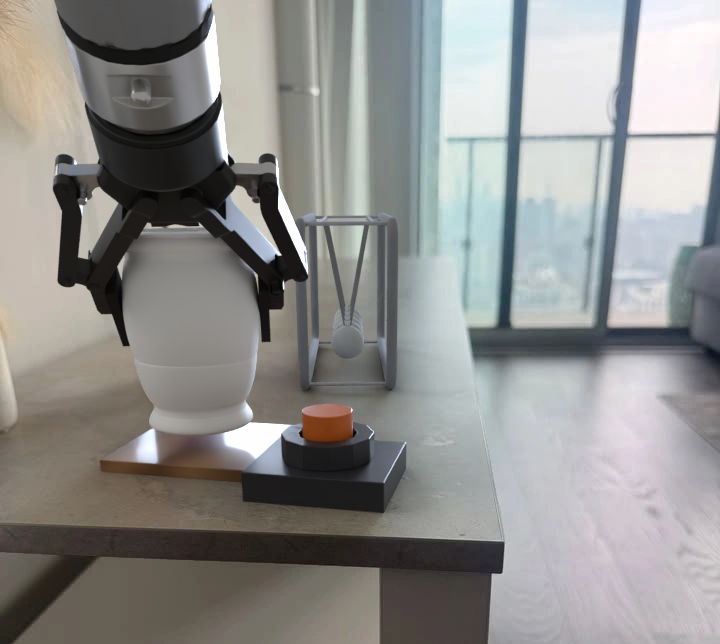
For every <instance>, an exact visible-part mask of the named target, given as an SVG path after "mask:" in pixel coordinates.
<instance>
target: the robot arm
mask: <svg viewBox="0 0 720 644" xmlns="http://www.w3.org/2000/svg"><path fill="white" fill-rule="evenodd" d="M53 2H54V5H55V7H56V14H57V17H58V20H59V24H60V26H61V30H62V34H63V37H64V41H65V44H66V47H67V51H68V56H69V59H70V61H71V64H72V68H73V71H74V75H75V78H76V82H77V85H78V88H79V91H80V94H81V97H82V99H83V101H84V109H85V114H86V116H87V121H88V124H89V128H90V131H91V135H92V139H93V141H94V145H95V148H96V152H97V155H98V160H97V163H77V161H76V159H75V158H74V157H73V156H71V155H70V154H67V153H61V154H58V155H56V156H55V159H54V169H53V178H52V179H53V181H52V192H53V194H54V197H55V199H56V201H57V203H58V205H59V208H60V210H61V219H60V233H59V234H60V235H59V251H58V266H57V280H56V282H57V284H58V285H59V286H60V287H63V288H73V287H75V286H76V284H77V285H82V286H84V287H85V288H86V290H88V291H89V293H90V295H91V298H92V300H93V303H94V306H95V308H96V311H97V312H98V313H99V314H100V315H111V317H112V319H113V322H114V324H115V328H116V330H117V333H118V336H119V339H120V342H121V345H122V347H130V344H129V341H128V337H127V333H126V329H125V324H124V317H123V309H122V276H121V274H120V270H119V267H118V266H119V265H120V263H121V262H122V260H123V258H124V257H125V256H124V255H125V253H126V251H127V250H128V248H129V246H130V245H131V243H132V242H133V240H134V239H135V240H137V239H138V237H139V236H140V234H141V232H142V231H143V229H145V227H146V226H147V224H150V227H151V228H166V227H169V226H175V225H176V226H183V227H186V228H194V227H200V225H201V226H202V227H204V228H205V229H206V230H207V231H208V232H209V233H210V234H211V235H212V236H213V237H214V238H219V237H220V238H221V239H222V240H223V241H224V242H225V243H226V244H227V245H228V246H229V247H230V248H231V249H232V250H233V251H234V252H235V253H236V254H237V255H238V256H239V257H240V258H241V259H242V260H243V261H244V262H245V263H246V264H247V265H248V266H249V267H250V268H251V269H252V270H253V271H254V272H255V275H256V276H257V287H258V294H259V309H260V339H261V343H271V342H272V339H271V336H272V335H271V317H270V315H271V314H270V311H275V310H276V311H278V310H279V311H281V310H283V308H284V307H285V284H286V283H287V282H288V281H291V280H293V281H294V282H295V283H296V282H304V281H307V280H308V279H309V267H308V255H307V248H306V245H305V246H304V244H303V241H302V239H301V237H300V234H299V232H298V230H297V227H296V225H295V221H294V217H293V216H292V214H291V211H290V209H289V206H288V204H287V202H286V199H285V196H284V195H283V192H282V190H281V188H280V181H279V165H278V158H277V156H275V155H274V154H273V153H268V152H265V153H262V154H261V155H260V156H259V157H258V160H257V161H258V162H257V163H256V162H255V163H253V162H236V161H235V159H234V158H233V156H232V155H231V154H230V152H229V150H228V148H227V139H226V138H227V137H226V129H225V128H226V127H225V119H224V107H223V98H222V94H221V90H220V85H221V74H220V73H221V72H220V66H219V65H220V63H219V54H218V53H219V52H218V42H217V32H216V31H217V30H216V21H215V12H214V10H213V0H53ZM236 187H242V188H243V189H244V190H245V191H246V194H247V195H248V197H249V198H251V202H252V203H254V204H259V210H260V214H261V216H262V218H263V221H264V223H265V225H266V227H267V229H268V231H269V233H270V236H271V237H272V239H273V241H274V244H275V246H276V247H275V246H274V245H273V244H272V243H271V242H270V241H269V240H268V239H267V237H266V236H264V234H263V233H262V232H261V231H260V230H259V229H258V228H257V227H256V226H255V225H254V223H253V222H252V221H251V220H250V219H249V218H248V217H247V216H246V214H244V212H242V210H241V209H240V208H239V207H238V205H236V204H235V202H234V201H233V199H232V196H231V195H232V193H233V192H234V190H236ZM97 188H100V189H101V191H103V192H104V193H105V194H106V195H108V196H109V197H110V198H111V199H112V200H114V201H115V202H117V205H116V207H115V208H114V210H113V212H112V214H111V215H110V217H109V219H108V221H107V223H106V225H105V226H104V229H103V230H102V232H101V234H100V235H99V237H98V239H97V241H96V243H95V244H94V247H93V248H92V251H91V250H90V249H88V252H87V258H85V257H79V253H80V242H81V231H82V224H83V223H82V221H83V210H84V206H86V205H87V204H88V203H87V202H88V201H90V200H91V199H92V198H93V195H94V193H93V192H94V190H95V189H97Z"/></svg>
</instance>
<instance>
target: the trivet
mask: <svg viewBox="0 0 720 644" xmlns="http://www.w3.org/2000/svg"><path fill="white" fill-rule="evenodd" d="M292 425H293V424H281V423H263V422H250V423H248V424H247V425H246V426H243V427H242V428H239V429H236V430H233V431H229V432H225V433H220V434H214V435H205V436H179V435H171V434H166V433H162V432H159V431H157V430H155V429H153V428H152V427H151V428H150V429H148V430H147V431H145V432H143V433H142V434H141V435H139V436H137V437H135V438H134V439H132V440H130V441H129V442H127V443H125V444H123V445H121V446H120V447H118V448H117V449H115V450H114V451H112V452H110V453H109V454H107V455H105V456H104V457H102V458H100V459H99V467H100V472H103V473H117V474H129V475H141V476H142V475H143V476H156V477H167V478H178V479H179V478H180V479H181V478H182V479H192V480H193V479H194V480H205V481H206V480H207V481H219V482H234V483H242V480H241V472H242V471H243V470H244V469H246V468H247V467H248V466H249V465H250V464H251V463H252V462H253V461H254V460H255V459H256V458H257V457H259V456H260V455H261V454H262V453H263V452H264V451H265V450H266V449H267V448H268V447H269V446H270V445H272V444H273V443H274V442H275V441H276V440H277V439H278V438H279V437H280V436H281V433H282V432H283V431H284V430H285V429H286V428H287V427H289V426H292Z"/></svg>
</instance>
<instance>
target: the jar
mask: <svg viewBox="0 0 720 644" xmlns="http://www.w3.org/2000/svg"><path fill="white" fill-rule="evenodd" d="M123 257H124V260H123V266H122V271H121V280H122V309H123V317H124V324H125V329H126V333H127V337H128V341H129V344H130V346H129V348H130V350H131V352H132V355H133V361H134V365H135V369H136V374H137V377H138V380H139V383H140V385H141V387H142V389H143V391H144V394H145V395H146V396H147V399H148V400H149V401H150V403H152V404H153V410H152V412H151V413H150V416H149V418H148V424H149V426H150V427H151V429H152V428H153V429H155V430H157V431H159V432H162V433H166V434H171V435H179V436H205V435H214V434H220V433H225V432H229V431H233V430H236V429H239V428H242V427H243V426H246V425H247V424H248V423H252V421H253V418H254V412H253V410H252V409H251V407H250V406H249V404H248V403H247V398H248V396H249V395H250V392H251V390H252V387H253V384H254V382H255V381H254V380H255V378H256V369H257V362H258V361H257V360H258V349H259V342H260V333H261V325H260V309H259V293H258V280H257V275H256V273H255V272H254V271H253V270H252V269H251V268H250V267H249V266H248V265H247V264H246V263H245V262H244V261H243V260H242V259H241V258H240V257H239V256H238V255H237V254H236V253H235V252H234V251H233V250H232V249H231V248H230V247H229V246H228V245H227V244H226V243H225V242H224V241H223V240H222V239H221V238H220V237H219V238H214V237H213V236H212V235H211V234H210V233H209V232H208V231H207V230H206V229H205V228H204V227H203V226H202V227H200V226H195V227H152V228H144V229H143V231H142V232H141V234H140V236H139V237H138V239H137V240H135V239H134V240H133V242H132V243H131V245H130V246H129V248H128V250H127V251H126V253H125V255H124V256H123Z"/></svg>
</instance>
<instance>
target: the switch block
mask: <svg viewBox="0 0 720 644" xmlns="http://www.w3.org/2000/svg"><path fill="white" fill-rule="evenodd" d="M291 425H292V426H289V427H287V428H286V429H285V430H284V431H283V432H282V433H281V436H280V437H279V438H278V439H277V440H276V441H275V442H274V443H273V444H272V445H270V446H269V447H268V448H267V449H266V450H265V451H264V452H263V453H262V454H261V455H260V456H259V457H257V458H256V459H255V460H254V461H253V462H252V463H251V464H250V465H249V466H248V467H247V468H246V469H244V470H243V471H242V472H241V480H242V482H241V491H242V492H241V493H242V502H245V503H256V504H257V503H258V504H268V505H281V506H293V507H305V508H315V509H317V508H318V509H329V510H339V511H341V510H343V511H351V512H352V511H354V512H365V513H377V514H378V513H379V514H384V513H385V511H386V509H387V507H388V505H389V503H390V501H391V499H392V498H393V495H394V493H395V491H396V489H397V488H398V485H399V484H400V481H401V479H402V477H403V475H404V473H405V471H406V469H407V442H406V441H393V440H378V439H375V432H374V430H373V429H372V428H370V426H369V425H367V424H364V423H360V422H356V421H353V437H352V438H349V439H346V440H342V441H332V442H322V441H311V440H308V439H304V438H303V433H302V422H299V423H296V424H291Z"/></svg>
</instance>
